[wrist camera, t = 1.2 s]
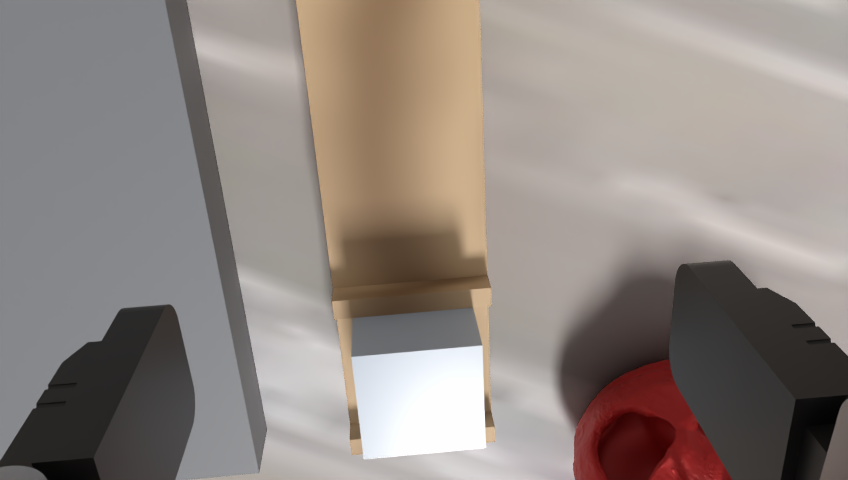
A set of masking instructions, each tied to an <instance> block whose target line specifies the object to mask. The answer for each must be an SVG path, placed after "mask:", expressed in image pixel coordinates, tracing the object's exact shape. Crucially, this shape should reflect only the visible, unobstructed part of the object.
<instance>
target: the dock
mask: <svg viewBox="0 0 848 480" xmlns="http://www.w3.org/2000/svg"><path fill="white" fill-rule="evenodd" d="M167 304H170V305H172V306H173V307H174V309H175V311H176V313H177V316H178V320H179V324H180V329H181V333H182V337H183V342H184V346H185V350H186V355H187V359H188V364H189V368H190V372H191V377H192V381H193V386H194V392H195V416H194V423H193V427H192V430H191V433H190V436H189V439H188V442H187V445H186V448H185V452H184V455H183V458H182V461H181V464H180V467H179V470H178V473H177V476H176V479H175V480H189V479H200V478H211V477H221V476H232V475H243V474H254V473H259V471H260V465H261V460H262V454H263V448H264V443H265V437H266V432H267V428H266V423H265V417H264V412H263V407H262V401H261V396H260V391H259V385H258V380H257V375H256V369H255V364H254V359H253V354H252V348H251V343H250V338H249V332H248V327H247V322H246V316H245V311H244V306H243V300H242V295H241V290H240V284H239V279H238V274H237V268H236V263H235V258H234V252H233V247H232V242H231V236H230V231H229V226H228V220H227V215H226V210H225V204H224V199H223V194H222V188H221V183H220V178H219V172H218V167H217V162H216V156H215V151H214V146H213V140H212V135H211V130H210V124H209V119H208V114H207V108H206V103H205V98H204V92H203V87H202V82H201V77H200V71H199V66H198V61H197V55H196V50H195V45H194V39H193V34H192V29H191V23H190V18H189V13H188V7H187V2H186V0H0V460H1V458H2V457H3V455H4V454H5V452H6V451H7V449H8V447H9V446H10V444H11V443H12V441H13V439H14V438H15V436H16V435H17V433H18V432H19V430H20V428H21V427H22V425H23V424H24V422H25V420H26V419H27V417H28V416H29V414H30V413H31V411H32V409H33V408H36V403H37V401H38V400H39V398H40V397H41V395H42V394H43V392H44V390H46V389H48V384H49V382H50V381H51V379H52V378H53V376H54V375H55V373H56V371H57V370H58V368H59V367H60V365H61V363H62V362H63V361H65V360H66V359H67V358H69V357H70V356H71V355H72V354H74V353H75V352H76V351H77V350H79V349H80V348H81V347H82V346H84V345H85V344H86V343H87V342H96V341H102V339H103V337H104V336H105V334H106V332H107V330H108V329H109V327H110V325H111V323H112V322H113V320H114V318H115V317H116V315H117V313H118V312H119V310H120V309H122V308H130V307H142V306H155V305H167Z"/></svg>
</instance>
